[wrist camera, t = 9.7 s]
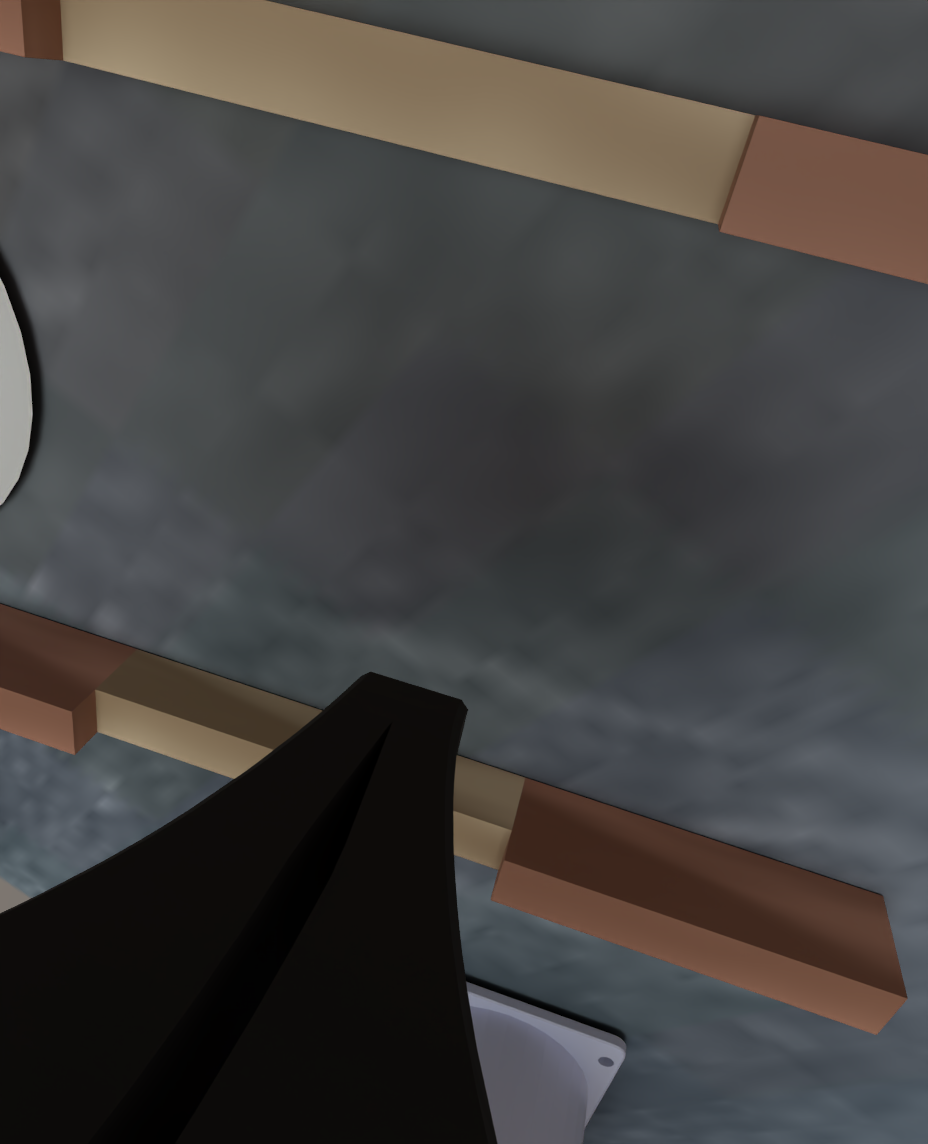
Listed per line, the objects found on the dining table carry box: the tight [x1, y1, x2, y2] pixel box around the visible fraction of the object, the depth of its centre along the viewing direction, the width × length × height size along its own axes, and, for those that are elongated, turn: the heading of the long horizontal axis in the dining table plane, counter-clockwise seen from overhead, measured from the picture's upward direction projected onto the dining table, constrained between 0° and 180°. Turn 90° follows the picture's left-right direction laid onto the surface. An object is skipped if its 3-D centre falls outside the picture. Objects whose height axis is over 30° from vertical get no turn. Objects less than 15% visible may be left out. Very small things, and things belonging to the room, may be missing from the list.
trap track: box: [0, 0, 928, 1035], centre depth 19 cm, size 18×43×4 cm, turn 78°
